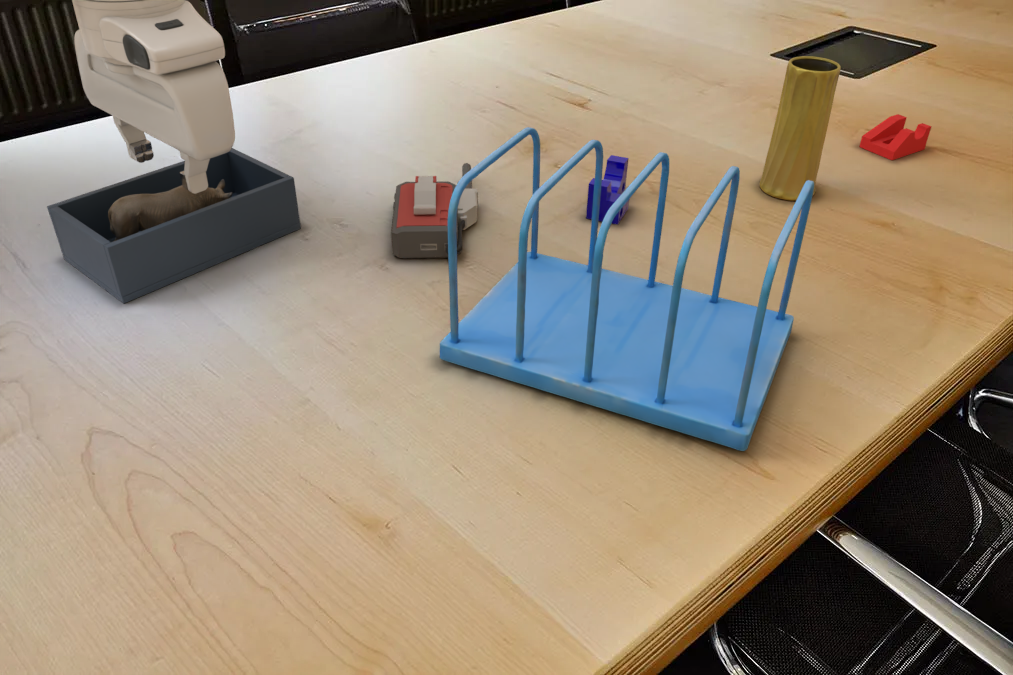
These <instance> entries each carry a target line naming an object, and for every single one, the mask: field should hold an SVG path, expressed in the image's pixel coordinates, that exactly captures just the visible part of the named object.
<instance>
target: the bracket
mask: <svg viewBox="0 0 1013 675" xmlns="http://www.w3.org/2000/svg"><path fill="white" fill-rule="evenodd" d="M907 118H908V117H907V116H904V115H901V114H899V113H896V114H894V115H891V116H889V117H887V118H885V119H884V120H883V121H881V122H880V123H879V124H877V125H876V126H874V127H873V128H871V129H870V130H868V131H867V132H866V133H864V134H863V135H861V139H860V142H859V146H858V147H859V148H860V149H862V150H863V149H864V150H865V151H868V152H871V153H872V154H875V155H877V156H880V157H882V158H885V159H888V160H890V161H895V160H897V159H900V158H904V157H907V156H909V155H912V154H915V153H918V152H922V151H924V150H925V149H926V146H927V142H928V139H929V136H930V133H931V130H932V126H931V125H930V124H926V123H923V122H921V123H918V124H917V126H916V128H915V130H912V129H910V128H907V127H906V128H905V126H906V121H907Z"/></svg>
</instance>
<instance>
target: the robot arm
mask: <svg viewBox="0 0 1013 675" xmlns="http://www.w3.org/2000/svg"><path fill="white" fill-rule="evenodd" d="M71 2H72V5H73V6H72V7H73V10H74V14H75V17H76V21H77V24H78V29H77V30H76V31H75V34H74V50H75V54H76V60H77V66H78V70H79V76H80V79H81V84H82V88H83V91H84V94H85V96H86V98H87V100H88V101H89V103H90V104H91V105H92V106H94V107H96V108H98V109H99V110H101V111H104V112H105V113H107V114H109V115H111V116H112V119H113V122H114V125H115V126H116V128H117V130H118V132H119V134H120V135H121V136H120V137H122V139H123V141H124V143H125V145H126V149H127V152H128V156H129V158H130V159H132V160H134V161H136V162H138V163H139V164H143V163H145V162H149V161H151V160H153V158H154V155H155V154H154V151H153V145H152V142H151V140H149V139H147V136H146V134H147V135H149V136H151V137H152V138H154V139H156V140H158V141H160V142H162V143H164V144H166V145H167V146H169V147H171V148H173V149H175V150H177V151H178V152H179V156H180V158H181V159H182V161H185V167H184V171H182V172H180V177H181V180H182V186H183V187H184V188H185V189H187V190H188V191H190V192H192V193H194V194H196V193H199V192H201V191H204V190H206V189H207V188H208V181H207V176H206V171H207V167H208V164H209V160H210V158H213V157H216V156H219V155H222V154H225V153H227V152H229V151H230V150H231V149H232V148H234V145H235V141H236V140H235V139H236V130H235V129H236V128H235V122H234V121H235V120H234V114H233V113H234V112H233V107H232V101H231V100H232V99H231V94H230V88H229V84H228V80H227V77H226V74H225V72H224V70H223V68H222V66H221V65H220V64H219V63H218V62H217V61H220V60H222V59H224V58H225V56H226V49H225V43H224V40H223V36H222V35H221V34H220V33H219V31H217V30H216V29H215V28H214V27H213V26H212V25H211V24H210V23H209V22H208V21H206V20H205V19H204V17H202V16H201V15H200V14H199V12H198V11H197V10H196V9H195V7H194V6H193V4H192V3H191V2H190V1H189V0H71Z"/></svg>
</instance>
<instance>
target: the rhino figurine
mask: <svg viewBox="0 0 1013 675" xmlns="http://www.w3.org/2000/svg"><path fill="white" fill-rule="evenodd" d="M224 187H225V182H224V180H223V179H222V180H221V181H220V183H219V184H218V186H217V188H216V189H214V188H209V187H208V188H207V189H206V190H204V191H201V192H199V193H196V194H194V193H192V192H190V191H188V190H187V189H185V188H184V187H183V186H182V185H181V186H179V187H176V188H174V189H171V190H169V191H166V192H162V193H156V194H133V195H128V196H124V197H121V198H119V199H118V200H116V201H115V202H114V203H113V204H112V206H111V207H110V209H109V211H108V217H109V221H110V230H111V232H112V233H113V234H114V235H115V236H116V239H115V240H114V241H117V240H119V239H122V238H125V237H127V236H130V235H133V234H135V233H138V232H139V231H143V230H146V229H149V228H151V227H154V226H157V225H159V224H162V223H165V222H167V221H170V220H173V219H175V218H178V217H181V216H183V215H186V214H189V213H191V212H194V211H197V210H199V209H202V208H205V207H207V206H210V205H213V204H215V203H218V202H221V201H223V200H226V199H229V198H230V197H231V196H232V192H230V193H226V194H225V193H224V192H223V189H224ZM114 241H113V242H114Z"/></svg>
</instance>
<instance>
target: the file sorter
mask: <svg viewBox="0 0 1013 675" xmlns="http://www.w3.org/2000/svg"><path fill="white" fill-rule="evenodd" d="M529 136H530V137H531V139H532V143H533V144H532V148H533V149H532V152H533V154H532V155H533V156H532V163H533V164H532V195H531V197H530V199H529V200H528V202H527V205H526V207H525V209H524V212H523V214H522V218H521V222H520V228H519V234H518V235H519V236H518V250H517V252H518V253H517V254H518V255H517V262H516V263H515V264H514V265H513V266H512V267H511V268H510V269H509V270H508V271H507V272H506V273H505V274H504V275H503V276H502V277H501V279H500V280H499V281H497V283H496V284H495V285H494V286H493V287H492V288H490V290H489V291H488V292H487V293H486V294H485V295H484V296H483V297H482V298H481V299H480V300H479V301H478V303H476V304H475V305H474V306H473V307H472V309H470V310H469V312H467V314H465V316H464V317H463V318H461V319H460V318H459V289H458V286H459V283H458V255H457V238H456V217H457V208H458V205H459V201H460V197H461V195H462V193H463V191H464V189H465V187H466V186H467V184H468V183H469V182H470V181H471V180H472V181H473V180H474V179H476V178H477V177H478V176H479V175H480V174H482V173H483V172H485V170H487V169H488V168H489V167H491V165H493V164H494V163H495V162H496V161H498V160H499V159H501V157H503V156H504V155H505V154H506V153H507V152H509V151H511V149H513V148H514V147H515V146H516V145H517V144H520V143H521V142H522V141H523V140H524V139H526V138H527V137H529ZM602 144H603V143H602V142H601V141H600V140H597V139H591V140H589V141H587V143H585V144H584V145H583V146H582V147H581V148H580V149H579V150H578V151H577V152H576V153H575V154H574V155H572V156H571V157H570V158H569V159H568V160H567V161H566V162H565V163H564V164H563V165H562V166H561V167H560V168H558V169H557V170H556V171H555V172H554V173H553V174H552V175H551V176H550V177H549V178H548V179H547V180H546V181H545V182H544V183H543V184H541V183H540V182H541V139H540V135H539V132H538V131H537V129H535V128H534V127H531V126H530V127H529V126H528V127H527V126H526V127H525V128H523V129H521V130H520V131H518V132H517V133H516V134H514V135H513V136H512V137H511V138H509V139H508V140H507V141H505V142H504V143H502V144H501V145H500V146H499V147H498V148H496V149H495V150H493V151H492V152H490V154H488V155H487V156H486V157H485V158H483V159H482V160H481V161H480V162H478V163H477V164H476V165H475V166H473V167H471V170H470V171H469V172H467V173H466V174H465V175H464V176H463V177H461V178H460V179H459V180H458V182H457V184H455V185H456V187H455V189H454V191H453V194H452V196H451V200H450V204H449V210H448V258H447V260H448V292H449V293H448V294H449V327H450V330H449V332H448V333H447V334H446V335H445V337H443V339H442V340H441V341H440V342H439V359H440V360H442V361H445V362H448V363H452V364H455V365H458V366H461V367H465V368H467V369H471V370H474V371H478V372H480V373H484V374H487V375H491V376H494V377H498V378H501V379H504V380H506V381H507V380H508V381H511V382H514V383H517V384H521V385H524V386H527V387H531V388H535V389H537V390H541V391H543V392H547V393H550V394H554V395H557V396H560V397H562V398H567V399H571V400H574V401H576V402H580V403H583V404H586V405H590V406H593V407H596V408H600V409H603V410H606V411H609V412H613V413H616V414H619V415H622V416H627V417H629V418H631V419H636V420H639V421H642V422H644V423H649V424H652V425H654V426H659V427H662V428H665V429H669V430H672V431H675V432H678V433H681V434H684V435H688V436H691V437H695V438H698V439H701V440H704V441H708V442H711V443H714V444H718V445H721V446H725V447H728V448H731V449H734V450H736V451H741V452H745V451H747V450H748V448H749V445H750V442H751V439H752V436H753V433H754V431H755V428H756V426H757V423H758V420H759V417H760V415H761V412H762V410H763V407H764V404H765V403H766V399H767V396H768V394H769V391H770V389H771V386H772V384H773V380H774V378H775V375H776V372H777V370H778V367H779V364H780V362H781V359H782V356H783V354H784V351H785V348H786V346H787V343H788V341H789V338H790V336H791V334H792V330H793V326H794V320H795V317H794V316H793V315H792V314H789V313H786V312H787V310H788V309H787V308H788V305H789V301H790V296H791V292H792V287H793V283H794V280H795V279H794V278H795V274H796V270H797V265H798V261H799V257H800V253H801V248H802V243H803V241H804V240H803V239H804V236H805V231H806V227H807V222H808V219H809V214H810V210H811V204H812V201H813V196H814V195H813V190H814V182H813V181H810V180H808V181H806V182H805V184H804V186H803V188H802V190H801V192H800V194H799V196H798V198H797V200H796V201H795V202H794V205H793V207H792V209H791V211H790V213H789V214H788V217H787V219H786V221H785V223H784V225H783V227H782V229H781V231H780V233H779V236H778V237H777V240H776V242H775V244H774V247H773V250H772V252H771V255H770V257H769V261H768V264H767V266H766V270H765V274H764V277H763V281H762V285H761V290H760V293H759V299H758V303H757V305H753V304H748V303H744V302H740V301H736V300H732V299H728V298H723V297H719V296H720V291H721V286H722V281H723V280H722V279H723V274H724V271H725V270H724V269H725V264H726V260H727V252H728V248H729V242H730V236H731V231H732V227H733V219H734V214H735V210H736V208H735V207H736V204H737V197H738V193H739V185H740V179H741V178H740V174H741V170H740V167H739V166H735V165H732V166H730V167H729V168H728V170H726V172H725V173H724V175H723V177H722V178H721V180H720V181H719V183H718V184H717V185H716V187H715V188H714V190H713V191H712V193H711V194H710V196H709V197H708V198H707V200H706V202H705V203H704V205H703V206H702V207H701V210H699V212H698V214H697V215H696V217H695V219H694V220H693V221H692V222H691V224H690V226H689V228H688V230H687V232H686V234H685V237H684V239H683V242H682V245H681V248H680V250H679V254H678V257H677V261H676V266H675V271H674V277H673V281H672V282H673V283H672V284H668V283H663V282H661V281H656V277H657V268H658V260H659V254H660V247H661V238H662V232H663V224H664V217H665V209H666V202H667V192H668V186H669V185H668V184H669V179H670V178H669V176H670V157H669V155H668V153H667V152H662V151H659V152H658V153H657V154H656V155H655V156H654V157H653V158H652V159H651V160H650V161H649V162H648V163H647V165H646V166H645V167H643V169H642V170H641V172H639V174H638V175H636V177H635V178H634V179H633V180H632V182H631V183H630V184H629V185H628V187H626V188H625V191H624V192H623V193H622V194H621V196H620V197H619V198H618V199H617V200H616V201H615V202H614V204H613V205H612V206H611V207H610V208H609V210H608V212H607V213H606V215H605V217H604V219H603V222H602V221H601V224H600V227H599V221H598V220H599V208H600V196H601V183H602V180H603V169H604V148H603V145H602ZM592 150H594V151H595V170H594V178H595V183H594V195H593V208H592V219H591V223H590V224H591V225H590V237H589V249H588V262H587V264H584V263H580V262H577V261H572V260H568V259H563V258H560V257H556V256H551V255H548V254H547V255H546V254H543V253H539V252H538V245H539V244H538V242H539V217H540V202H541V200H542V199H543V198H544V197H545V195H546V194H548V193H549V192H550V191H551V190H552V189H553V188H554V187H555V186H556V185H557V184H558V183H559V182H560V181H561V180H562V179H563V178H564V177H565V176H566V175H567V174H568V173H569V172H570V171H571V170H572V169H574V167H576V165H578V164H579V163H580V162H581V161H582V160H583V159H584V158H585V157H586V156H587V155H588V154H589V153H591V151H592ZM660 164H661V173H660V181H659V190H658V201H657V208H656V214H655V222H654V231H653V239H652V247H651V254H650V256H651V257H650V265H649V271H648V279H647V278H642V277H639V276H635V275H631V274H628V273H627V274H626V273H623V272H618V271H614V270H610V269H606V268H603V260H604V250H605V245H606V240H607V236H608V234H609V230H610V228H611V225H612V221H613V219H614V217H615V216H616V215H617V213H618V212H619V211H620V209H621V208H622V207H623V206H624V205H625V204H626V202H627V201H628V200H629V201H630V199H631V198H632V197H633V195H634V194H635V193H636V191H637V190H638V189H639V188H640V187H641V186H642V185H643V184H644V183H645V181H646V180H647V179H648V178H649V177H650V176H651V174H652V173H653V171H655V169H656V168H657V167H658V166H659V165H660ZM729 184H730V189H729V195H728V200H727V208H726V211H725V216H724V223H723V227H722V232H721V233H722V234H721V239H720V246H719V251H718V257H717V262H716V268H715V273H714V278H713V284H712V292H711V294H708V293H704V292H700V291H696V290H692V289H687V288H684V287H683V280H684V276H685V271H686V266H687V262H688V258H689V254H690V251H691V248H692V245H693V242H694V241H695V240H694V239H695V238H696V237H697V235H698V233H699V231H700V229H701V228H702V226H703V225H704V223H705V222H706V220H707V218H708V217H709V215H710V214H711V212H712V210H713V209H714V207H715V206H716V205H717V203H718V201H719V200H720V198H721V197H722V195H723V194H724V192H725V191H726V189H727V187H728V186H729ZM540 185H541V186H540ZM797 220H798V224H797V228H796V232H795V237H794V241H793V246H792V250H791V255H790V258H789V263H788V267H787V271H786V272H787V273H786V277H785V280H784V285H783V290H782V295H781V299H780V302H779V307H778V308H779V309H778V311H777V310H774V309H768V308H767V307H768V303H769V299H770V294H771V291H772V285H773V282H774V279H775V275H776V271H777V268H778V265H779V262H780V259H781V256H782V253H783V251H784V248H785V246H786V244H787V242H788V240H789V238H790V236H791V234H792V231H793V229H794V227H795V224H796V222H797ZM530 226H531V232H529V230H530ZM598 230H599V231H598ZM529 233H530V234H531V235H530V236H531V237H530V251H528V247H529V246H528V244H529V243H528V240H529ZM459 319H460V321H459Z"/></svg>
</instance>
